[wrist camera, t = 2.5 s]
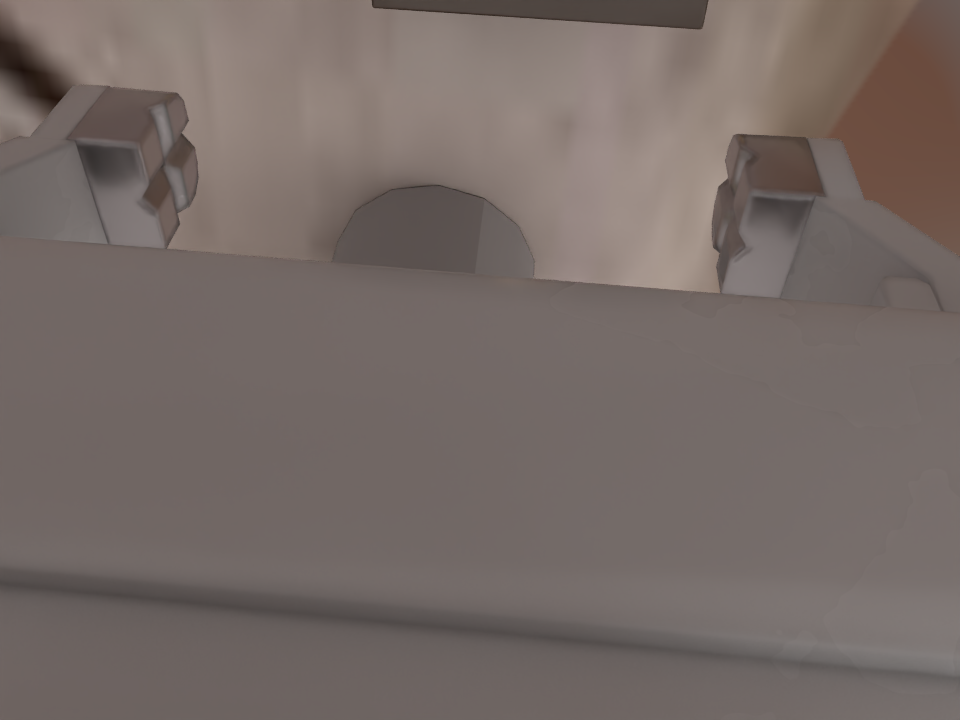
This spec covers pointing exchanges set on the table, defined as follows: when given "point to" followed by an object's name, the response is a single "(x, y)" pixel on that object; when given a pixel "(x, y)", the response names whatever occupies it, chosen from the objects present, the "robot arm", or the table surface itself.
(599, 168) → the table surface
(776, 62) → the table surface
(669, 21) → the lock plate
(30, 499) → the robot arm
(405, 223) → the cup
